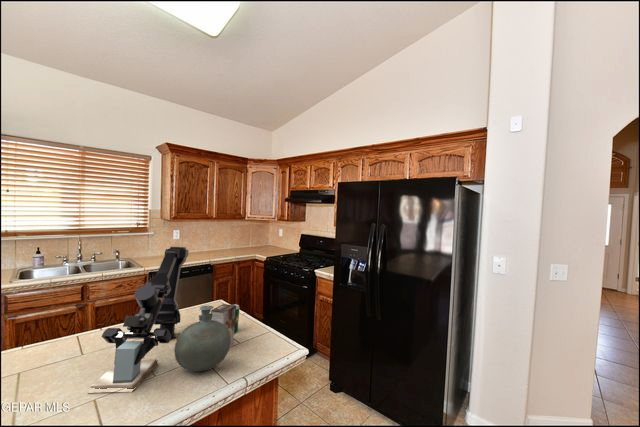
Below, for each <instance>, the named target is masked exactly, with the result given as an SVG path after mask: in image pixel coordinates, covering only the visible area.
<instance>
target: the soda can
mask: <svg viewBox="0 0 640 427" xmlns="http://www.w3.org/2000/svg"><path fill="white" fill-rule="evenodd" d="M235 305H236V314H235V328H234V334H235V333H237V332H238V330H239V320H240V319H239V318H240V309H241V308H240V305H239V304H235Z"/></svg>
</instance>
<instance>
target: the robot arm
mask: <svg viewBox="0 0 640 427" xmlns="http://www.w3.org/2000/svg"><path fill="white" fill-rule="evenodd" d="M189 252H190V251H189V249H187V247H186V246H170V247H169V248H165V251H164V257H163V259H162V261H161V263H160V265H159V268H158V270H157V273H156V274H155V275H154V276H152V277H151V278H150V279H149V280H148V282H145V284H144V285H142V286H140V287H138V288H137V289H136V290H135V291H134V298H135V300H136V302H137V304H138V306H139V307H140V309H139V312H138V313H135V314H134V315H126V316H125V319H124V322H123V324H122V327H123V328H126V330H127V331H123V330H122V329H121V328H120V327H108V328H107V329H106V328H105V330H103V333H102V334H101V337H102V339H103V340H104V341H105V342H106V343H109V344H114V345H115V350H116V349H117V348H118V347H119V346H120V345H122V344H123V343H124V342H125V341H127V340H128V339H129V340H131V339H138V340H139V339H140V340H141V339H142V341H143V344H142V347H141V349H140V351H139V353H138V355H137V357H136V359H135V362H134V365H137V364H138V363H139V362H140V360H141V359H144V358H145V356H147V355H148V353H149V352H150V351H151V350H152V349H154V348H155V347H157V346H159V344H169V343H170V342H171V340H173V339H177V335H176V333H175V330H176V325H178V324H179V323H181V313H180V310H179V304H178V301H177V293H178V287H179V281H180V276H181V275H180V274H181V268H182V266H183V265H184V264H185V263H186V261H187V258H188V257H189ZM161 299H163V300H161ZM154 325H155V326H157V325H159V328H158V327H156V328H155V329H154V330H153V331H152V328H153V326H154ZM115 355H116V351H115V353H114V356H115ZM113 364H114V365H115V360H114V363H113ZM114 365H113V366H114Z"/></svg>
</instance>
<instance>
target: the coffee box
mask: <svg viewBox="0 0 640 427" xmlns="http://www.w3.org/2000/svg"><path fill="white" fill-rule="evenodd" d="M236 305H237V304H228V303H227V304H226V303H222V304H220V305H219V306H217V307H215V308H212V309H211V311H210V313H212V319H211V320H214V321H218V322H221V323H223V324H224V325H225V326H226V327H227V328H228V330H229V333H230V337H231V344H230V346H231V345H232V344H233V343H234V340H235V338H234V337H235V333H234V328H235V314H236Z"/></svg>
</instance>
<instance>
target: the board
mask: <svg viewBox="0 0 640 427" xmlns="http://www.w3.org/2000/svg"><path fill="white" fill-rule="evenodd" d="M158 363H159V362H158V359H157V358H142V359H141V366H140V373H139V374H138V376H137V377H136V378H135V379H134V380H133V381H132V383H113V375H114V365H113V366H112V367H111V368H110V369H108V370H107V371H106V372H105V373H104V374H103V375H101V377H99V378H98V379H97V380H96V381H95V382H93V383H92V384H91V385H90V387H89V388H95V389H99V388H100V389H107V388H127V389H134V388H135V387H136V386H137V385H138V386H139V385H140V384H141V383H142V382H143V381H144V380H145V379H146V377H147V376H148V375H149V374H150V373H151V372H152V371H153V369H154V368H156V366H157V365H158ZM143 379H144V380H143ZM142 380H143V381H142ZM141 381H142V382H141ZM140 382H141V383H140ZM139 383H140V384H139ZM138 386H137V387H138Z"/></svg>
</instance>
